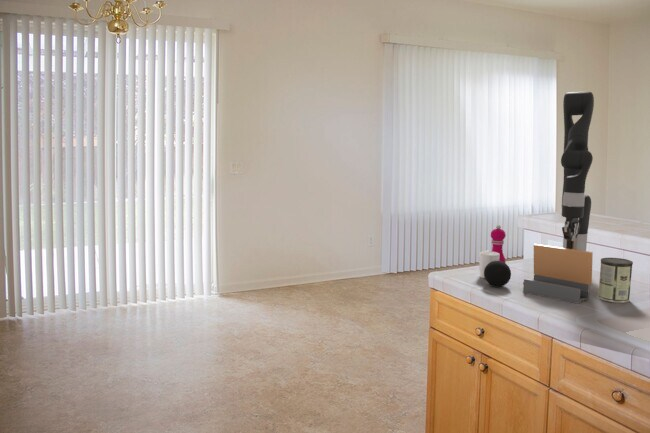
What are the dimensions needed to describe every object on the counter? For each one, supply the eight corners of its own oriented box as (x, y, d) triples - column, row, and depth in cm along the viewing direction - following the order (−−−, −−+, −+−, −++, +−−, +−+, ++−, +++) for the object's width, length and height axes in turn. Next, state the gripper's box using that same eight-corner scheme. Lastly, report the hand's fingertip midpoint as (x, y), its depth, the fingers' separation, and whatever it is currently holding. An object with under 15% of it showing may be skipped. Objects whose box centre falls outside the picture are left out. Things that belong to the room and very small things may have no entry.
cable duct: (534, 287, 227) (535, 274, 226) (588, 297, 214) (589, 284, 213) (523, 292, 220) (524, 279, 219) (578, 303, 207) (579, 289, 206)
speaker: (495, 281, 235) (497, 257, 233) (515, 287, 226) (517, 262, 225) (477, 284, 229) (478, 259, 228) (497, 291, 221) (498, 264, 219)
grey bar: (524, 285, 226) (525, 279, 225) (587, 297, 210) (588, 291, 210) (521, 286, 224) (522, 280, 223) (585, 299, 209) (586, 292, 208)
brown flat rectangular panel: (533, 274, 227) (534, 273, 227) (590, 284, 213) (591, 283, 214) (533, 244, 223) (534, 243, 224) (591, 253, 210) (592, 252, 210)
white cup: (494, 274, 246) (496, 251, 244) (500, 279, 238) (502, 255, 237) (475, 274, 246) (477, 251, 244) (481, 279, 238) (482, 255, 236)
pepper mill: (505, 274, 247) (508, 226, 244) (487, 273, 248) (490, 226, 245) (504, 270, 254) (506, 224, 251) (486, 269, 255) (489, 223, 252)
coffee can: (608, 293, 220) (611, 256, 218) (635, 300, 211) (639, 261, 209) (591, 297, 215) (594, 259, 212) (618, 304, 206) (622, 264, 204)
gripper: (569, 202, 228) (566, 246, 230) (556, 204, 218) (552, 251, 220) (589, 203, 223) (586, 249, 225) (577, 206, 213) (573, 254, 216)
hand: (569, 250), depth 223 cm, fingers closed
